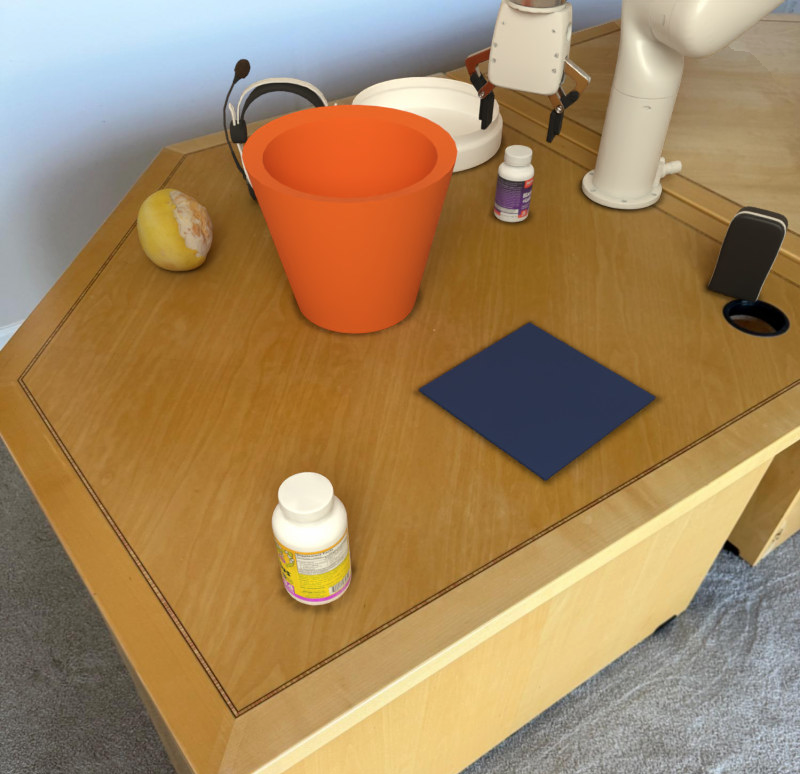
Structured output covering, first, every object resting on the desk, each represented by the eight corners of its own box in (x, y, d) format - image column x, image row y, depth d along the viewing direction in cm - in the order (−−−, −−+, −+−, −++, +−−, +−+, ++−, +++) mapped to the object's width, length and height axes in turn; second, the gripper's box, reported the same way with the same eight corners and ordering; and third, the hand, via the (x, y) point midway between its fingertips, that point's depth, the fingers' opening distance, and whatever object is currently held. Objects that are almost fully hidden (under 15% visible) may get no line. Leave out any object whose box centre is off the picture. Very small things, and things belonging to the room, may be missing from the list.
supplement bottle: (283, 555, 76) (267, 464, 66) (350, 550, 76) (343, 460, 66) (283, 611, 72) (264, 523, 62) (353, 606, 72) (346, 518, 62)
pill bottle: (526, 225, 116) (535, 160, 109) (491, 221, 117) (498, 157, 109) (529, 207, 120) (538, 144, 112) (495, 204, 120) (502, 140, 113)
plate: (532, 149, 132) (536, 115, 128) (404, 190, 123) (405, 156, 119) (440, 95, 146) (442, 64, 142) (319, 129, 137) (317, 96, 133)
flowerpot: (484, 315, 101) (500, 166, 86) (319, 379, 93) (304, 226, 78) (386, 231, 115) (385, 89, 99) (234, 280, 106) (207, 133, 91)
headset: (232, 212, 118) (208, 70, 103) (238, 187, 123) (216, 48, 108) (343, 211, 118) (335, 70, 103) (344, 187, 123) (337, 48, 108)
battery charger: (762, 291, 105) (796, 212, 97) (755, 305, 103) (789, 226, 94) (712, 277, 108) (740, 198, 99) (704, 290, 105) (733, 211, 97)
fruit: (159, 292, 104) (141, 223, 97) (138, 254, 110) (119, 186, 103) (230, 274, 107) (218, 205, 100) (206, 238, 113) (192, 170, 106)
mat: (529, 324, 100) (529, 322, 100) (655, 399, 91) (655, 396, 91) (418, 391, 92) (418, 388, 91) (545, 481, 82) (546, 478, 82)
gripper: (612, -9, 96) (583, 133, 109) (481, -28, 100) (469, 111, 113) (598, 9, 91) (570, 155, 104) (462, -12, 95) (452, 131, 108)
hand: (518, 132), depth 109 cm, fingers open, 9 cm apart
